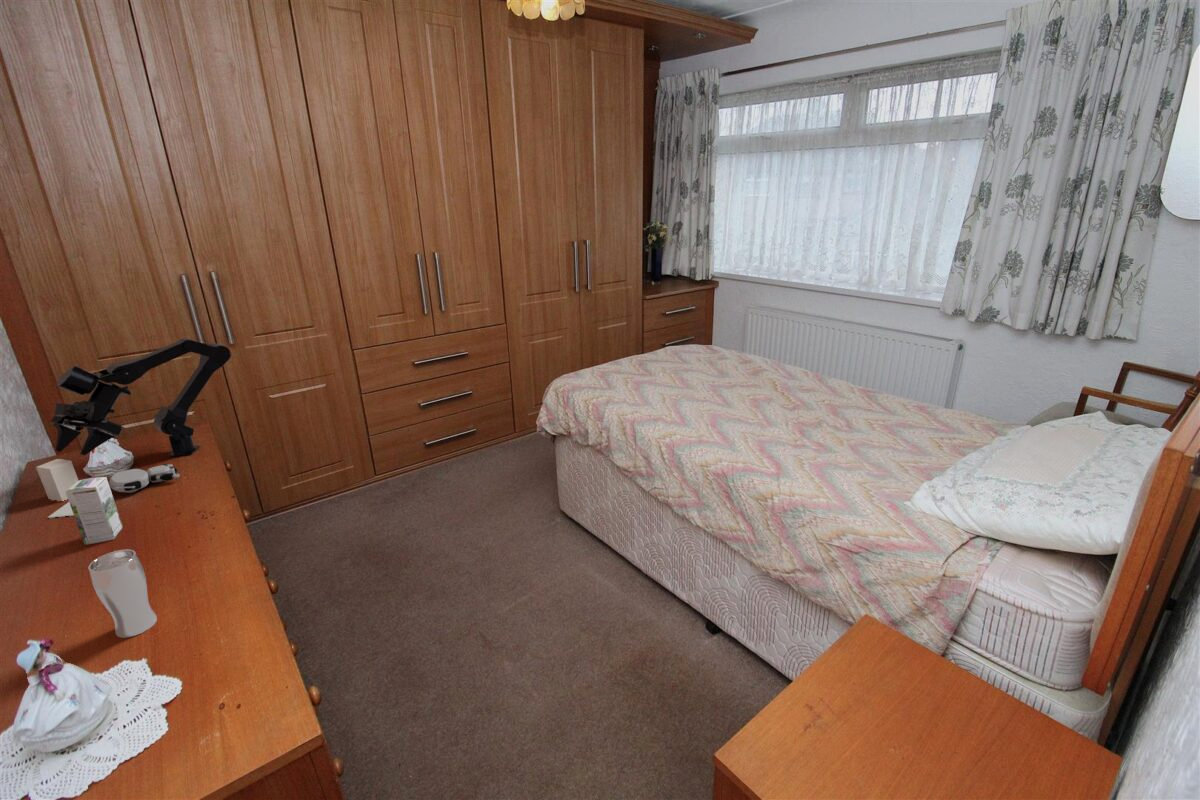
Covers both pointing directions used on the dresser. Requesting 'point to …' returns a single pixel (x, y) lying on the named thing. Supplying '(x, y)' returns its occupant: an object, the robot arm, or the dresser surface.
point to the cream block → (57, 478)
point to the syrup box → (94, 510)
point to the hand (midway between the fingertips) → (70, 453)
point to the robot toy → (141, 478)
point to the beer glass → (123, 591)
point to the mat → (63, 511)
